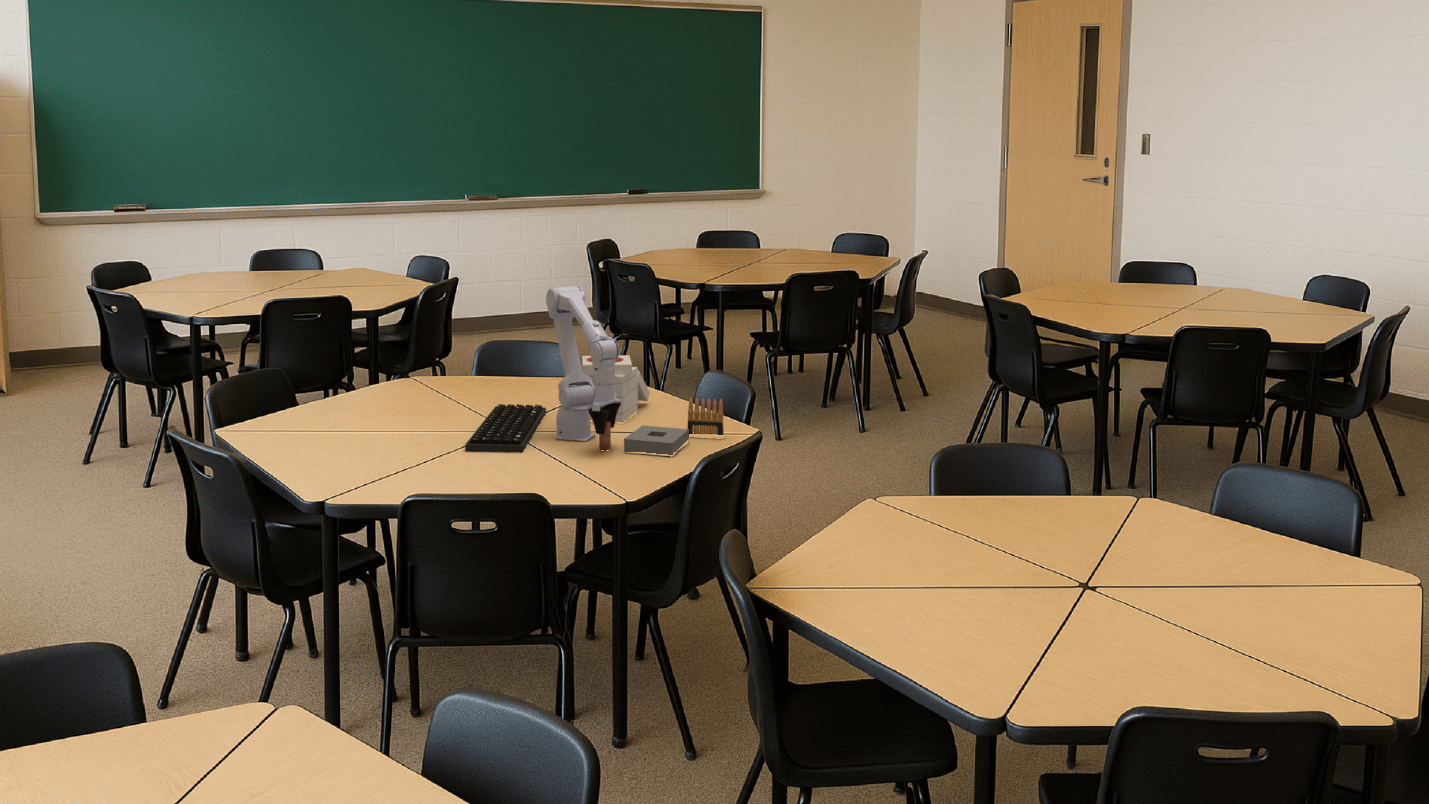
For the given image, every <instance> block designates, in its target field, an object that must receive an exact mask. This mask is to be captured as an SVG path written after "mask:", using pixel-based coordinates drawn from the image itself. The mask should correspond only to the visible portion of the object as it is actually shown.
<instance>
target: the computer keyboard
mask: <svg viewBox="0 0 1429 804" xmlns="http://www.w3.org/2000/svg"><path fill="white" fill-rule="evenodd" d="M545 414H546V415H547V407H545V406H544V407H543V405H540V404H534V405H533V404H525V405H524V404H520V403H519V404H516V405H515V404H507V405H506V404H501V403H498V404H497V406H494V408H493V409H492V410H491V411H490V413H489V414H488V415H487V416H486V417H485V419H484V420H483V422H482V423H480V425H479V427H478V428H476V430H475V431H474V432H473V434H472V435H471V437H469V439H468V440H467V441H466V443H465V446H464V447H465V448H464V450H465V451H464V452H467V453H469V452H470V453H471V452H472V453H510V452H523V453H524V451H525V450H526V448H527V447H526V446H528V445H529V444H530V442H531V440H532V438H533V437H532V436H534V435H535V433H536V432H535V431H537V430H538V428H539V427H538V425H539V424H540V425H541V423H542V422H541V420H542V419H543V420H544V418H545V417H544V416H546V415H545ZM543 417H544V418H543ZM543 420H542V421H543ZM540 425H539V426H540ZM537 427H538V428H537ZM536 429H537V430H536ZM533 434H534V435H533ZM529 441H530V442H529ZM527 444H528V445H527ZM524 449H525V450H524Z"/></svg>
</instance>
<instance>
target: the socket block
mask: <svg viewBox="0 0 1429 804" xmlns="http://www.w3.org/2000/svg"><path fill="white" fill-rule="evenodd" d="M688 439H689V440H690V438H689V429H687V428H678V427H665V426H655V425H641V426H639V427H638V428H637V429H635V430H634V431H633V432H631V433H630V434H629V435H628V436H626V437H624V439H623V444H624V445H623V453H624V452H646V453H656V454H668V455H673V453H674V452H676V451H677V450H678V449H679V448H680V447H681V446H682V445H683V444H684V443H685V442H686V441H687V440H688Z"/></svg>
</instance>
